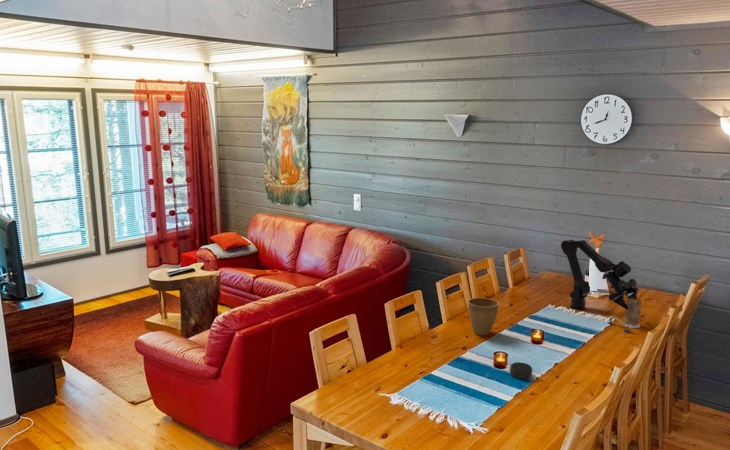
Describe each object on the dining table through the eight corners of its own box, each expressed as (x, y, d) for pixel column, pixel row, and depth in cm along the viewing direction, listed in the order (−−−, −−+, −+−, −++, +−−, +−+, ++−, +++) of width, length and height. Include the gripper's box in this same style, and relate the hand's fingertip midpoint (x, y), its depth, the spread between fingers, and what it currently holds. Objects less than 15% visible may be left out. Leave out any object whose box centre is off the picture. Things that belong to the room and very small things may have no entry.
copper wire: (606, 323, 308) (607, 315, 307) (611, 323, 309) (612, 314, 308) (625, 333, 295) (626, 324, 294) (631, 332, 296) (631, 324, 295)
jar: (600, 290, 367) (602, 271, 365) (593, 292, 362) (595, 273, 360) (587, 286, 374) (589, 268, 372) (580, 289, 369) (582, 270, 367)
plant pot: (497, 339, 285) (499, 307, 282) (466, 337, 287) (467, 305, 284) (497, 328, 299) (498, 298, 296) (467, 326, 302) (468, 296, 299)
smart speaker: (515, 368, 253) (515, 359, 252) (535, 374, 247) (535, 365, 246) (506, 375, 246) (506, 366, 245) (526, 381, 240) (526, 372, 240)
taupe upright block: (624, 323, 307) (626, 299, 304) (630, 321, 309) (632, 297, 307) (633, 326, 302) (635, 302, 300) (639, 324, 305) (641, 300, 303)
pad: (620, 325, 306) (620, 323, 306) (626, 321, 312) (626, 320, 311) (636, 329, 300) (636, 327, 300) (642, 325, 306) (642, 324, 306)
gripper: (616, 276, 300) (633, 303, 294) (637, 271, 311) (655, 297, 304) (600, 287, 308) (617, 313, 301) (622, 282, 319) (639, 307, 312)
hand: (633, 307), depth 304 cm, fingers open, 9 cm apart
